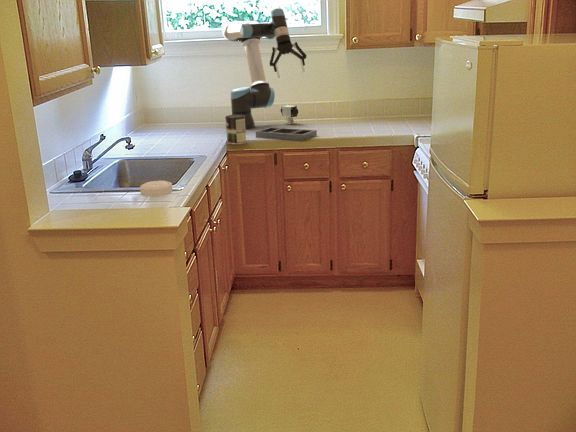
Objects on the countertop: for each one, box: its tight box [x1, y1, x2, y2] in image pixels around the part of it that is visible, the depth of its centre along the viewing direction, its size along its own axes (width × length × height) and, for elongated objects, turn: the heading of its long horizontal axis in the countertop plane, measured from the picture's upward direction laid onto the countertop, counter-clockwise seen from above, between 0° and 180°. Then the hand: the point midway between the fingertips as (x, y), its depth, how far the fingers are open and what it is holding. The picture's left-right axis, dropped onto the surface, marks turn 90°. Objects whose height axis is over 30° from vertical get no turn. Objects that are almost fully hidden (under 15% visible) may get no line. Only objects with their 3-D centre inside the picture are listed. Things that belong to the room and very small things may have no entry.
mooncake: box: [139, 179, 173, 197], centre depth 232 cm, size 12×12×4 cm
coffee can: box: [225, 114, 247, 145], centre depth 321 cm, size 10×10×14 cm
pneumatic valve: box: [280, 103, 299, 125], centre depth 373 cm, size 6×12×12 cm, turn 41°
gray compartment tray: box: [255, 126, 318, 141], centre depth 334 cm, size 30×15×3 cm, turn 59°
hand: (291, 74), depth 325 cm, fingers open, 13 cm apart
